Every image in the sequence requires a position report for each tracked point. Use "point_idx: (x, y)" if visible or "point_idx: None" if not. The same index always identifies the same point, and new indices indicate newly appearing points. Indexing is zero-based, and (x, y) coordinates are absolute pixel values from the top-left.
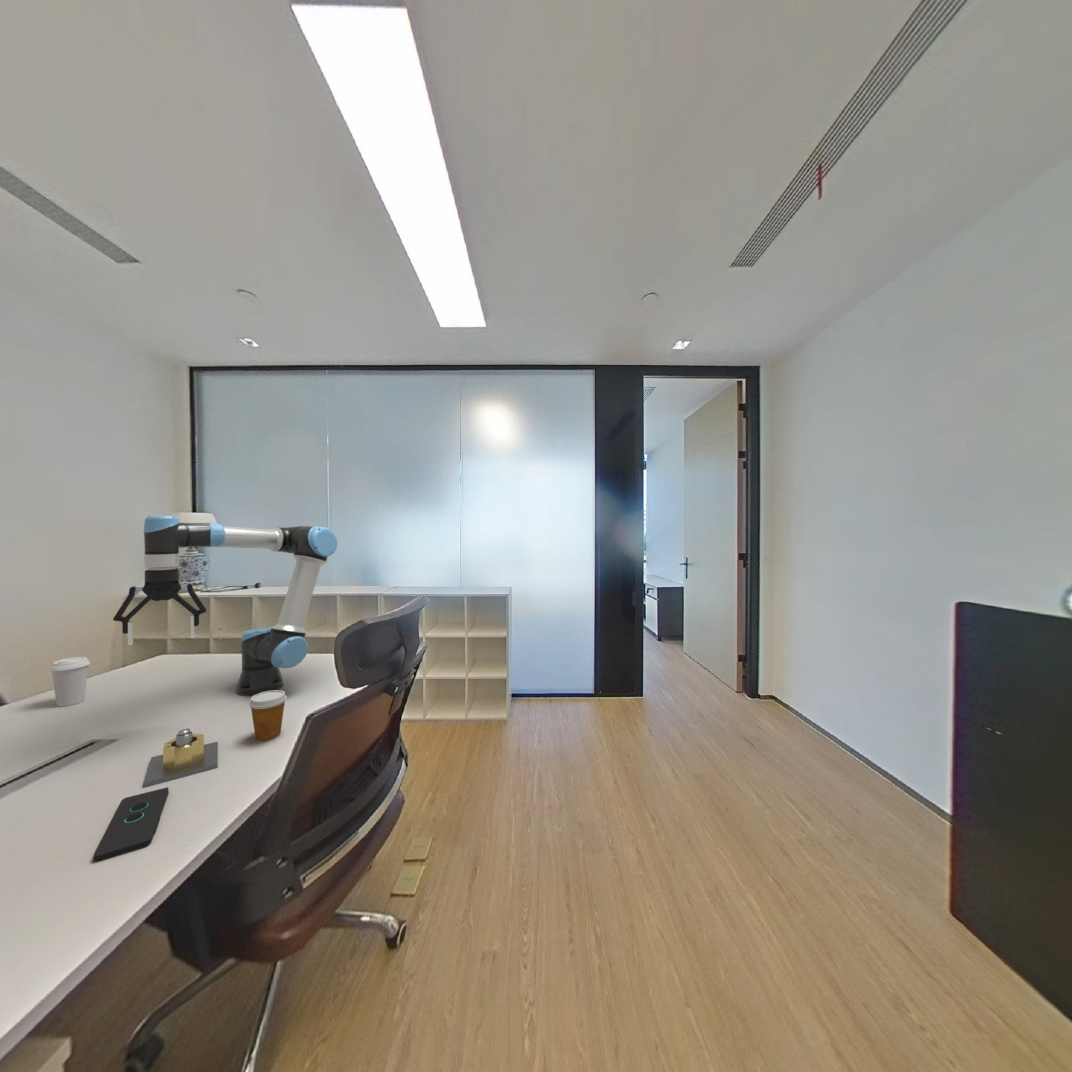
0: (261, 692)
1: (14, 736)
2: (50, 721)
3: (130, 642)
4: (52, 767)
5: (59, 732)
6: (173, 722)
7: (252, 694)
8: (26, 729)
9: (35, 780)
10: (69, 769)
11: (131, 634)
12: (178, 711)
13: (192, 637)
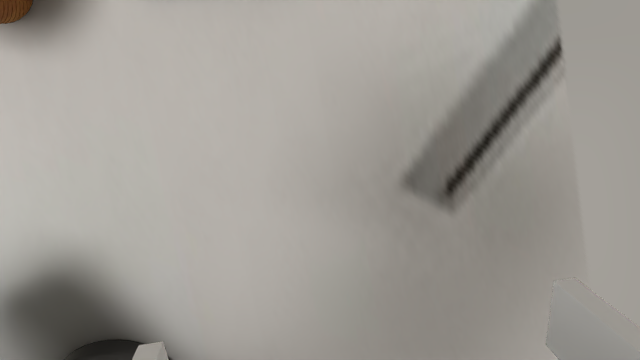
0: (102, 344)
1: None
2: (540, 355)
3: (578, 294)
4: (501, 83)
5: (517, 286)
6: (300, 235)
7: (128, 342)
8: None
9: (520, 23)
10: (468, 48)
11: (634, 347)
12: (303, 305)
13: (148, 345)
